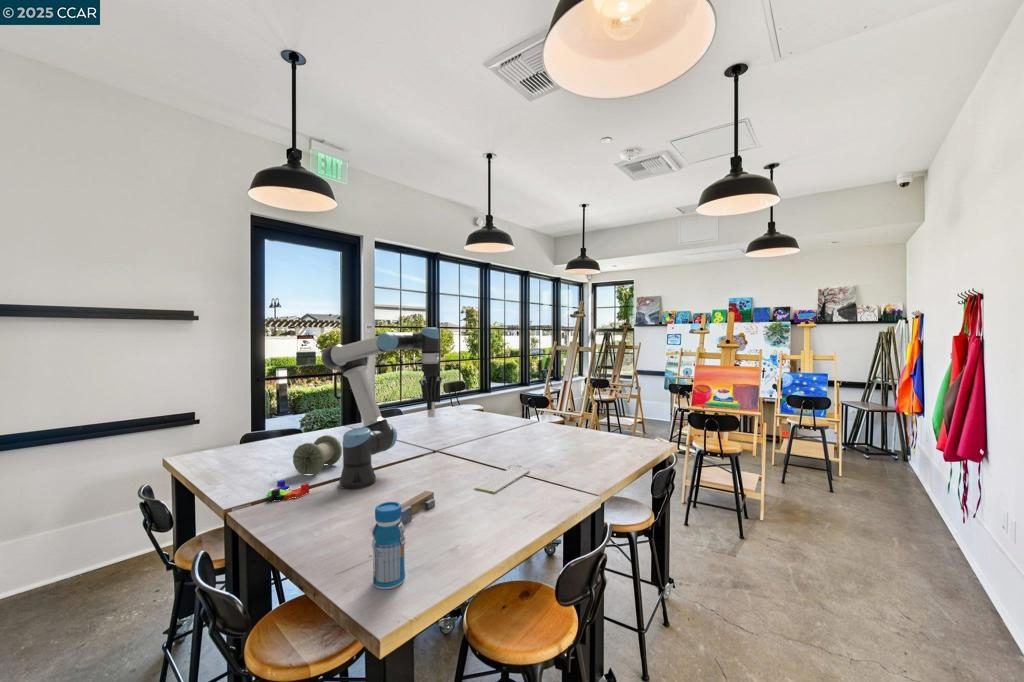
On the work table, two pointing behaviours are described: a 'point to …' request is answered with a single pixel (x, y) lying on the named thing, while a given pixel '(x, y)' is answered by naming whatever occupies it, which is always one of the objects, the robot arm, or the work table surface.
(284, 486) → the building blocks
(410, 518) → the end cap
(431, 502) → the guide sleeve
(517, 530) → the work table surface
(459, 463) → the work table surface
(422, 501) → the brown wooden bar
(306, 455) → the spool
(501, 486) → the baseboard
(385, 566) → the beverage bottle
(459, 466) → the work table surface
